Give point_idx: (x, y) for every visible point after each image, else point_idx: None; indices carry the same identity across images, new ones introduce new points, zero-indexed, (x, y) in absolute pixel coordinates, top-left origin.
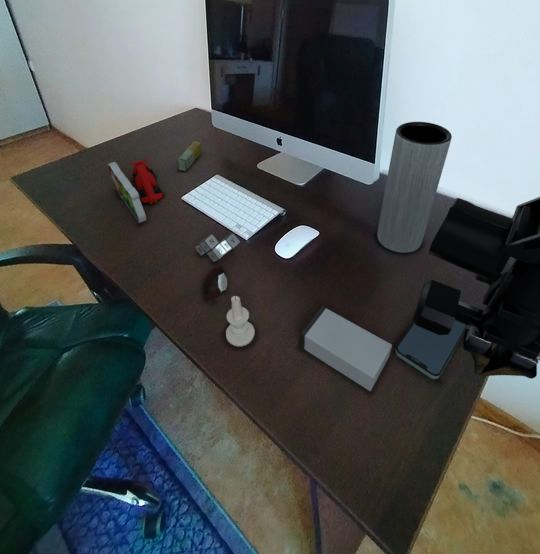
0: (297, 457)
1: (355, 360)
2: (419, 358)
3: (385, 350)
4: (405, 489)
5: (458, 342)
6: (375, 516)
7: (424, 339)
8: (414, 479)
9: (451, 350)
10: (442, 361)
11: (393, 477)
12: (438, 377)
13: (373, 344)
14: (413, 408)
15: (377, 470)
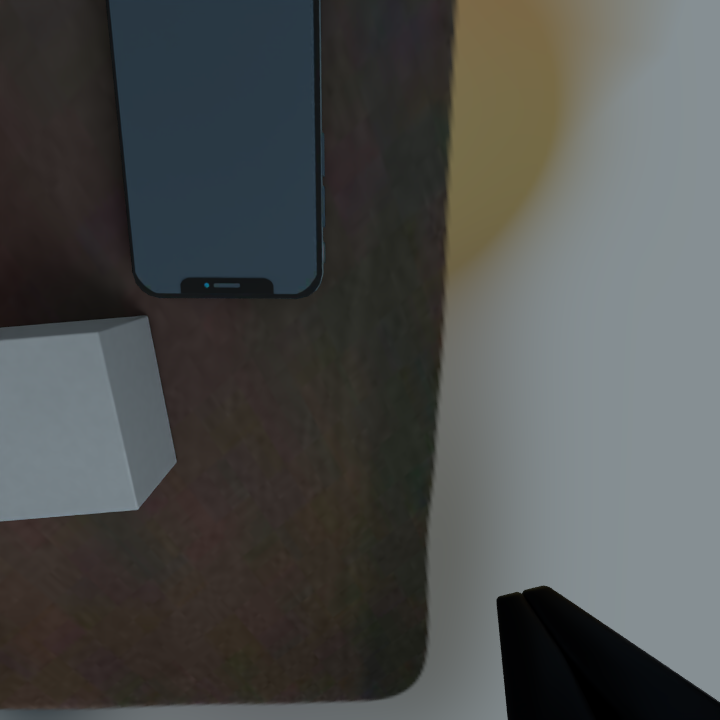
0: (150, 704)
1: (39, 494)
2: (229, 265)
3: (94, 377)
4: (382, 602)
5: (320, 44)
6: (354, 679)
7: (198, 154)
8: (390, 573)
9: (312, 125)
10: (305, 211)
11: (348, 600)
12: (322, 277)
13: (38, 386)
14: (306, 419)
15: (311, 611)
